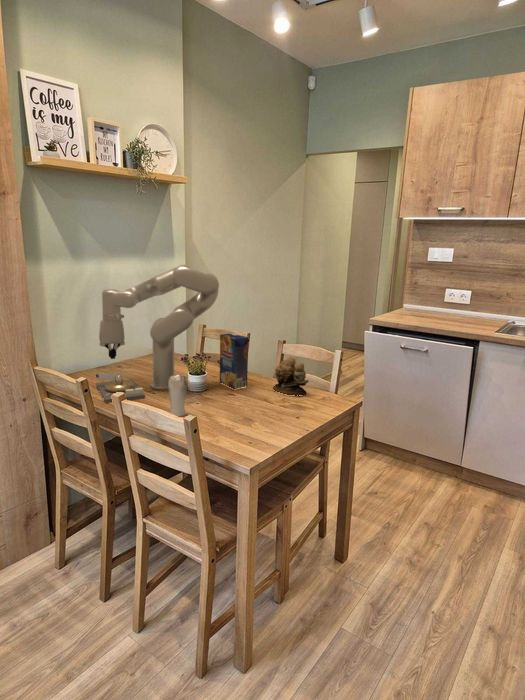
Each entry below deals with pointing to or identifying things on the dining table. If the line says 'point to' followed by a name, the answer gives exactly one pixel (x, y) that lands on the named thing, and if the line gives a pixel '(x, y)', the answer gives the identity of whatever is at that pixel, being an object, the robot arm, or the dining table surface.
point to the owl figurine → (290, 377)
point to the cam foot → (115, 382)
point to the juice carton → (233, 360)
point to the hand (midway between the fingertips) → (112, 358)
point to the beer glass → (177, 394)
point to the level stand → (130, 393)
